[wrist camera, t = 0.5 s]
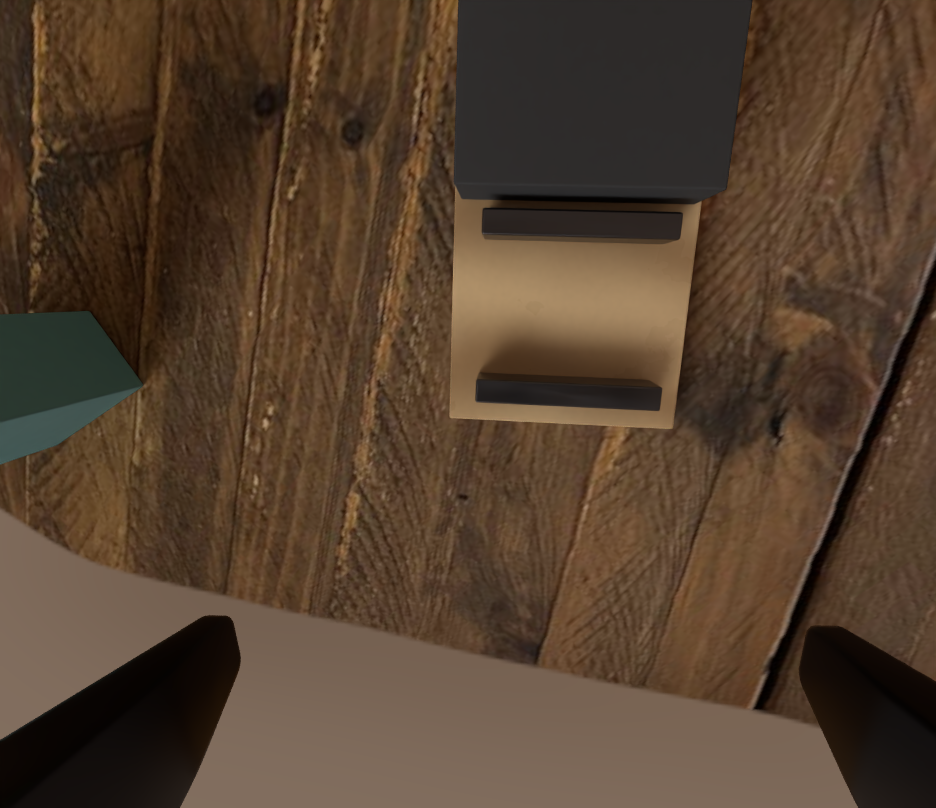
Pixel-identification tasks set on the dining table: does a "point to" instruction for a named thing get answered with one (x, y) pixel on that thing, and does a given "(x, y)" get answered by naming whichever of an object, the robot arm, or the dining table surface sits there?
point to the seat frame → (584, 200)
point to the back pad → (55, 378)
